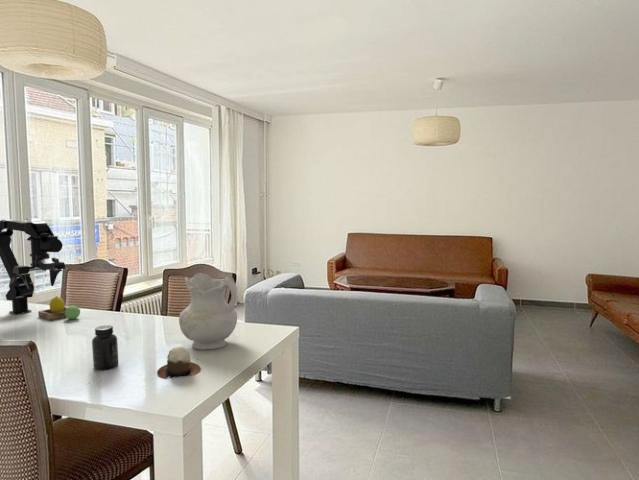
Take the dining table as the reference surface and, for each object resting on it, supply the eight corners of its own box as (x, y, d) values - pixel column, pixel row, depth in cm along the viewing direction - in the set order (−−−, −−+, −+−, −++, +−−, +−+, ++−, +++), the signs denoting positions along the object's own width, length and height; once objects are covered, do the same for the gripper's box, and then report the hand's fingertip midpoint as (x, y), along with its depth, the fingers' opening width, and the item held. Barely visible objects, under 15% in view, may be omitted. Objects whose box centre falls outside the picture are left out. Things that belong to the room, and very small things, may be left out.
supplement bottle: (111, 360, 141) (110, 322, 140) (122, 366, 136) (121, 326, 135) (89, 367, 135) (87, 327, 134) (99, 372, 131) (98, 332, 130)
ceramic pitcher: (252, 343, 162) (253, 273, 162) (226, 356, 143) (228, 277, 143) (198, 338, 168) (199, 270, 168) (166, 350, 149) (168, 275, 149)
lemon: (47, 316, 192) (45, 297, 191) (58, 312, 197) (57, 294, 196) (57, 317, 190) (55, 298, 189) (68, 313, 195) (66, 295, 195)
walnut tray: (38, 316, 192) (38, 311, 192) (64, 311, 201) (63, 306, 201) (51, 320, 186) (50, 314, 186) (77, 315, 195) (76, 309, 195)
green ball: (62, 319, 188) (61, 306, 188) (75, 316, 193) (75, 303, 192) (69, 321, 185) (68, 308, 185) (83, 318, 190) (82, 305, 189)
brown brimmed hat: (154, 363, 136) (177, 336, 137) (181, 383, 139) (204, 356, 140) (151, 377, 124) (177, 347, 126) (181, 398, 127) (206, 369, 129)
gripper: (24, 254, 180) (26, 293, 182) (71, 250, 196) (73, 286, 197) (11, 253, 187) (13, 290, 188) (58, 248, 202) (59, 283, 204)
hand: (41, 287), depth 194 cm, fingers open, 9 cm apart
